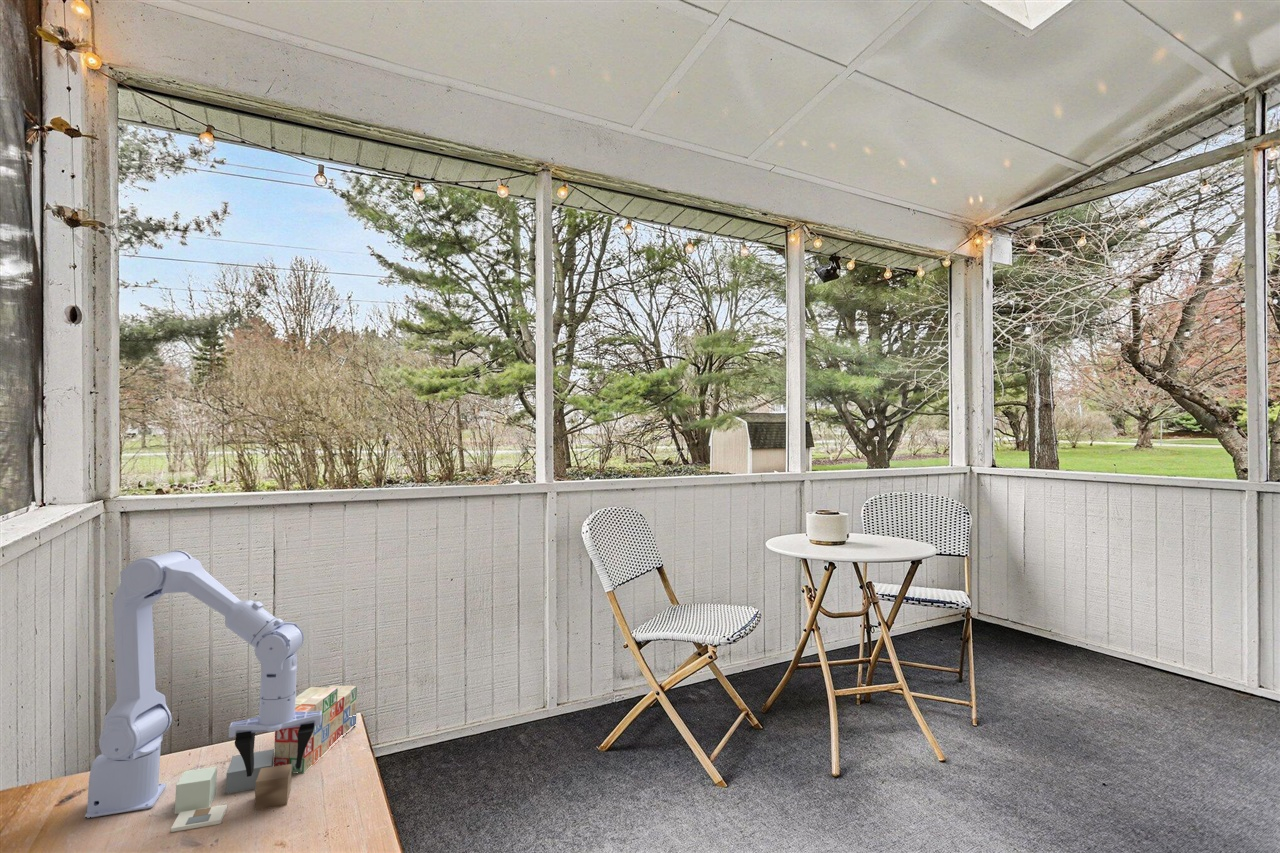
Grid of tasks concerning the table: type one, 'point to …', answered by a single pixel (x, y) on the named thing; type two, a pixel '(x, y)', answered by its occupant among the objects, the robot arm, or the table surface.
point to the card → (199, 818)
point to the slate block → (238, 773)
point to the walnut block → (273, 787)
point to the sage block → (195, 789)
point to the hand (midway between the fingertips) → (274, 770)
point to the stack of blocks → (334, 723)
